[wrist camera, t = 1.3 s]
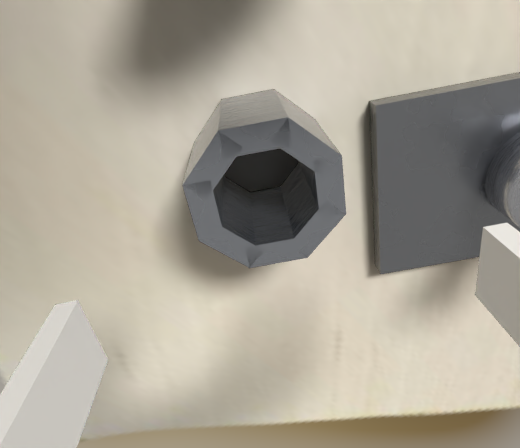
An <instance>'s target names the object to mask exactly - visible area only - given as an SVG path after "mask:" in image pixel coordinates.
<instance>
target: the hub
mask: <svg viewBox="0 0 520 448" xmlns="http://www.w3.org/2000/svg"><path fill="white" fill-rule="evenodd" d="M279 148H281V149H282V150H284V151H285V152H286V153H288V154H289V155H291V156H292V157H294V158H295V159H297V160H298V161H299V163H298V164H297V166H296V167H295V168H294V170H293V171H292V172H291V174H290V175H289V176H288V177H287V179H286V180H285V181H284V183H283V184H282V185H281V186H280V187H276V188H271V189H266V190H260V191H255V192H249V191H247V190H245V189H244V188H242V187H241V186H239V185H237V184H236V183H234V182H232V181H231V180H229V179H227V178H226V177H224V174H225V172H226V171H227V169H228V168H229V166H230V165H231V164H232V162H233V161H234V159H235V158H236V157H237V156H242V155H247V154H253V153H258V152H263V151H269V150H274V149H279ZM182 186H183V189H184V192H185V196H186V199H187V202H188V206H189V209H190V213H191V216H192V219H193V223H194V226H195V229H196V233H197V236H198V240H199V241H200V242H202V243H204V244H206V245H208V246H209V247H211V248H213V249H215V250H217V251H219V252H221V253H222V254H224V255H226V256H228V257H230V258H232V259H234V260H236V261H237V262H239V263H241V264H243V265H245V266H247V267H249V268H253V267H258V266H264V265H269V264H275V263H281V262H286V261H292V260H297V259H303V258H308V257H309V255H310V254H311V253H312V252H313V251H314V250H315V249H316V247H317V246H318V245H319V244H320V243H321V242H322V241H323V240H324V238H325V237H326V236H327V235H328V234H329V233H330V232H331V230H332V229H333V228H334V227H335V226H336V225H337V224H338V223H339V221H340V220H341V219H342V218H343V217H344V216H345V215H346V206H345V193H344V179H343V166H342V155H341V154H340V152H339V151H338V150H337V148H336V147H335V146H334V144H333V143H332V141H331V140H330V139H329V137H328V136H327V135H326V133H325V132H324V131H323V129H322V128H321V127H320V125H319V124H318V122H317V121H316V120H315V119H314V118H313V117H311V116H310V115H309V114H307V113H306V112H305V111H303V110H302V109H300V108H299V107H298V106H296V105H295V104H294V103H292V102H291V101H290V100H288V99H287V98H285V97H284V96H283V95H281V94H280V93H279V92H277V91H276V90H275V89H272V90H267V91H261V92H256V93H251V94H246V95H241V96H236V97H230V98H225V99H221V101H220V102H219V104H218V106H217V107H216V109H215V110H214V112H213V113H212V115H211V117H210V118H209V120H208V121H207V123H206V124H205V126H204V128H203V129H202V131H201V132H200V134H199V136H198V137H197V139H196V140H195V142H194V145H193V149H192V152H191V156H190V159H189V163H188V167H187V170H186V174H185V178H184V181H183V185H182Z"/></svg>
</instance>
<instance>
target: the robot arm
mask: <svg viewBox="0 0 520 448" xmlns="http://www.w3.org/2000/svg"><path fill="white" fill-rule="evenodd" d="M475 295H476V297H477V298H478V299H479V300H480V301H481V302H482V304H483V305H484V306H485V307H486V308H487V309H488V311H489V312H490V313H491V314H492V315H493V316H494V318H495V319H496V320H497V321H498V322H499V323H500V325H501V326H502V327H503V328H504V329H505V330H506V331H507V333H508V334H509V335H510V336H511V337H512V338H513V340H514V341H515V342H516V343H517V344H518V345H519V347H520V232H519V231H518V230H516V229H515V228H514V227H512V226H511V225H510V224H509V223H502V224H497V225H491V226H486V227H483V231H482V240H481V248H480V257H479V266H478V274H477V283H476V292H475ZM107 362H108V358H107V356H106V354H105V352H104V350H103V348H102V346H101V344H100V342H99V340H98V338H97V336H96V334H95V332H94V330H93V328H92V327H91V325H90V323H89V321H88V319H87V317H86V315H85V313H84V311H83V309H82V307H81V305H80V303H79V301H78V300H76V301H71V302H65V303H60V304H55V305H54V307H53V309H52V310H51V312H50V314H49V315H48V317H47V319H46V320H45V322H44V323H43V325H42V327H41V328H40V330H39V332H38V333H37V335H36V337H35V338H34V340H33V342H32V343H31V345H30V347H29V348H28V350H27V351H26V353H25V355H24V356H23V358H22V360H21V361H20V363H19V365H18V366H17V368H16V370H15V371H14V373H13V374H12V376H11V378H10V379H9V381H8V383H7V384H6V386H5V388H4V389H3V391H2V393H1V394H0V448H77V446H78V443H79V440H80V438H81V435H82V432H83V429H84V426H85V424H86V421H87V418H88V415H89V412H90V410H91V407H92V404H93V401H94V398H95V396H96V393H97V390H98V387H99V384H100V382H101V379H102V376H103V373H104V370H105V368H106V365H107Z"/></svg>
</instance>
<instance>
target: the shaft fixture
mask: <svg viewBox="0 0 520 448" xmlns="http://www.w3.org/2000/svg"><path fill="white" fill-rule="evenodd" d="M370 129H371V158H372V187H373V217H374V246H375V265H376V267H377V269H378V271H379V272H380V274H385V273H391V272H396V271H402V270H407V269H413V268H419V267H424V266H430V265H436V264H441V263H447V262H452V261H458V260H464V259H469V258H475V257H480V248H481V240H482V231H483V227H486V226H491V225H497V224H502V223H509V224H510V225H511V226H512V227H514V228H515V229H516V230H518V231H519V232H520V72H519V73H513V74H508V75H503V76H498V77H492V78H487V79H482V80H477V81H472V82H466V83H461V84H456V85H451V86H445V87H440V88H435V89H430V90H424V91H419V92H414V93H409V94H403V95H398V96H393V97H388V98H382V99H377V100H372V101H370Z"/></svg>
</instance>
